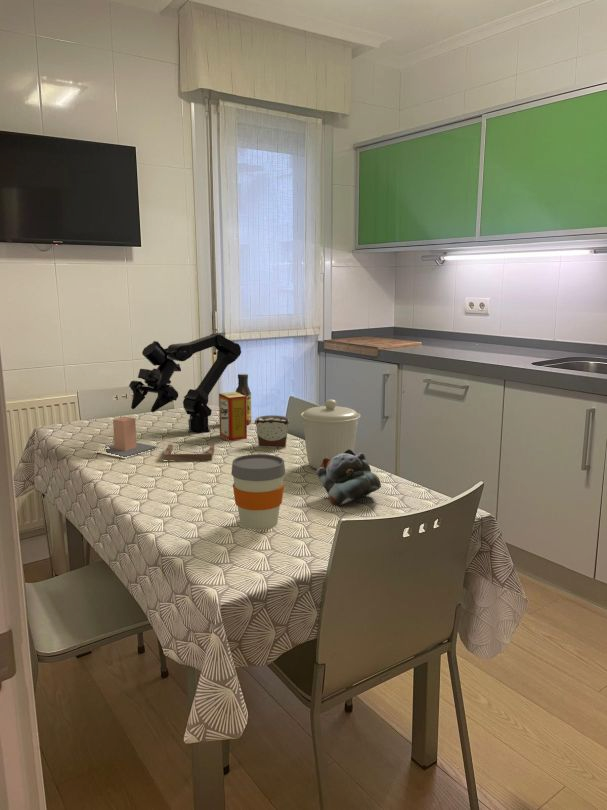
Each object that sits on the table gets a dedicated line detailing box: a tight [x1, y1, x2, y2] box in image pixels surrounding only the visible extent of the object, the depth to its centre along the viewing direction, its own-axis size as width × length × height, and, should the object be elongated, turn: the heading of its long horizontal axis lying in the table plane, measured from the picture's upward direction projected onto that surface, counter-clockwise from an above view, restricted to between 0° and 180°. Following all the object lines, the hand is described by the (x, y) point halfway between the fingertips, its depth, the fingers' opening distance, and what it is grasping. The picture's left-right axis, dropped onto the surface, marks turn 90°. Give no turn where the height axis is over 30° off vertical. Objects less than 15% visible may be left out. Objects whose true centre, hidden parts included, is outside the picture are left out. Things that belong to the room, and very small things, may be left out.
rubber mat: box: [104, 442, 157, 457], centre depth 206 cm, size 14×14×1 cm
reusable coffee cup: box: [231, 453, 286, 530], centre depth 145 cm, size 12×13×15 cm
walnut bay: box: [162, 443, 215, 462], centre depth 201 cm, size 13×15×2 cm
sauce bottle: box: [235, 373, 252, 425], centre depth 245 cm, size 6×6×20 cm
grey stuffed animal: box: [315, 449, 382, 507], centre depth 162 cm, size 15×12×14 cm
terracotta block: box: [112, 416, 137, 451], centre depth 205 cm, size 5×5×10 cm
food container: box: [254, 414, 291, 449], centre depth 214 cm, size 12×6×10 cm, turn 84°
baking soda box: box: [218, 391, 248, 442], centre depth 224 cm, size 10×6×16 cm
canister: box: [300, 399, 361, 470], centre depth 188 cm, size 18×18×21 cm
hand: (141, 410), depth 211 cm, fingers open, 9 cm apart
